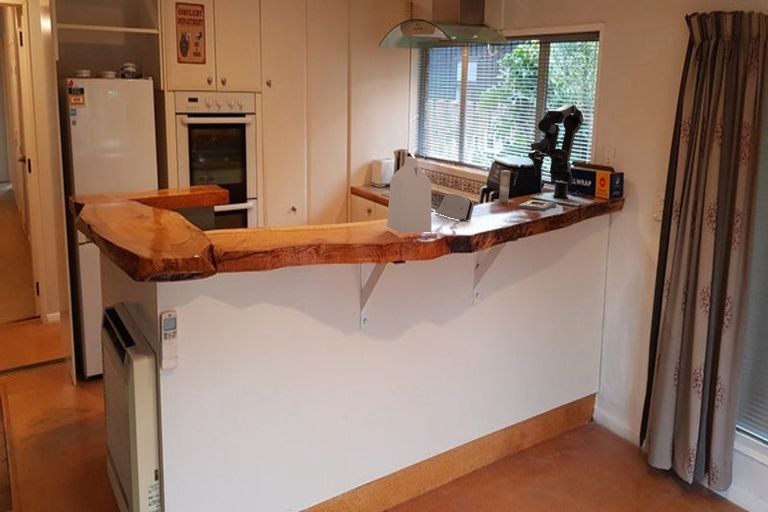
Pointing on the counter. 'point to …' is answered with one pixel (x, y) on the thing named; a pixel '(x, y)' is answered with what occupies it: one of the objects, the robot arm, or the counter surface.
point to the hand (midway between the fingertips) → (543, 174)
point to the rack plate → (537, 205)
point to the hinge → (456, 207)
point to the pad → (504, 201)
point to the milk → (409, 199)
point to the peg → (504, 185)
